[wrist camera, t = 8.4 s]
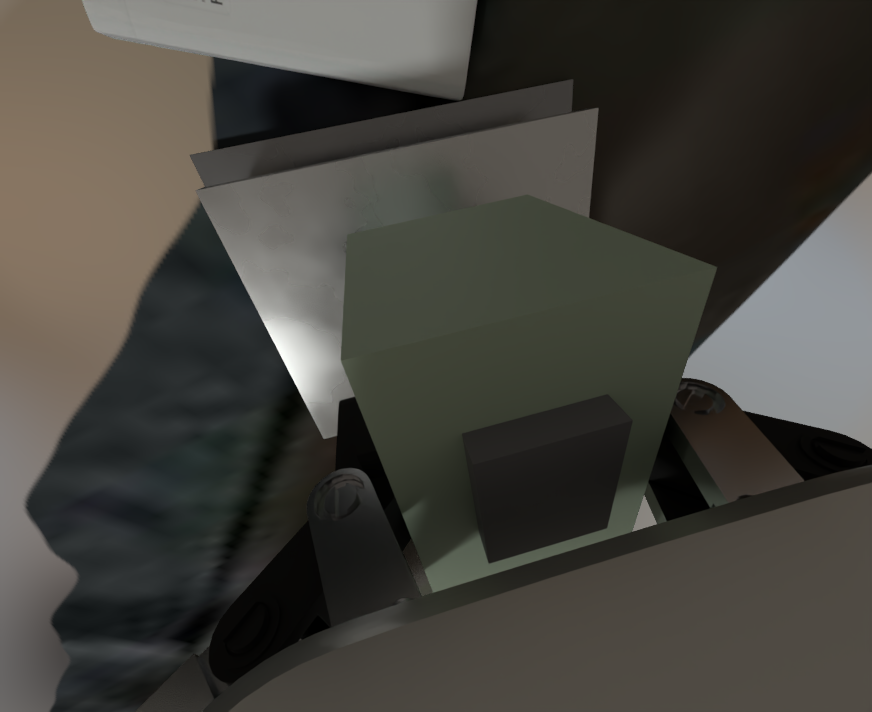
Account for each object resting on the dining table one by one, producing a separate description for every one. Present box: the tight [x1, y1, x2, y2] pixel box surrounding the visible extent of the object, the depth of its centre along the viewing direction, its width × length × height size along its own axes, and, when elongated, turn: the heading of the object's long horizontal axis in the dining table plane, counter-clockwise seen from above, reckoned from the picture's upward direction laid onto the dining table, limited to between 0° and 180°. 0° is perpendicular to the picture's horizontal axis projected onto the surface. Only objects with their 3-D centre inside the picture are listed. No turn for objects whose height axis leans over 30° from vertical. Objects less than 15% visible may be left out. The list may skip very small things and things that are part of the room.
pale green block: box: [341, 194, 717, 593], centre depth 9 cm, size 9×5×7 cm, turn 10°
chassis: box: [190, 79, 599, 439], centre depth 17 cm, size 14×16×4 cm
